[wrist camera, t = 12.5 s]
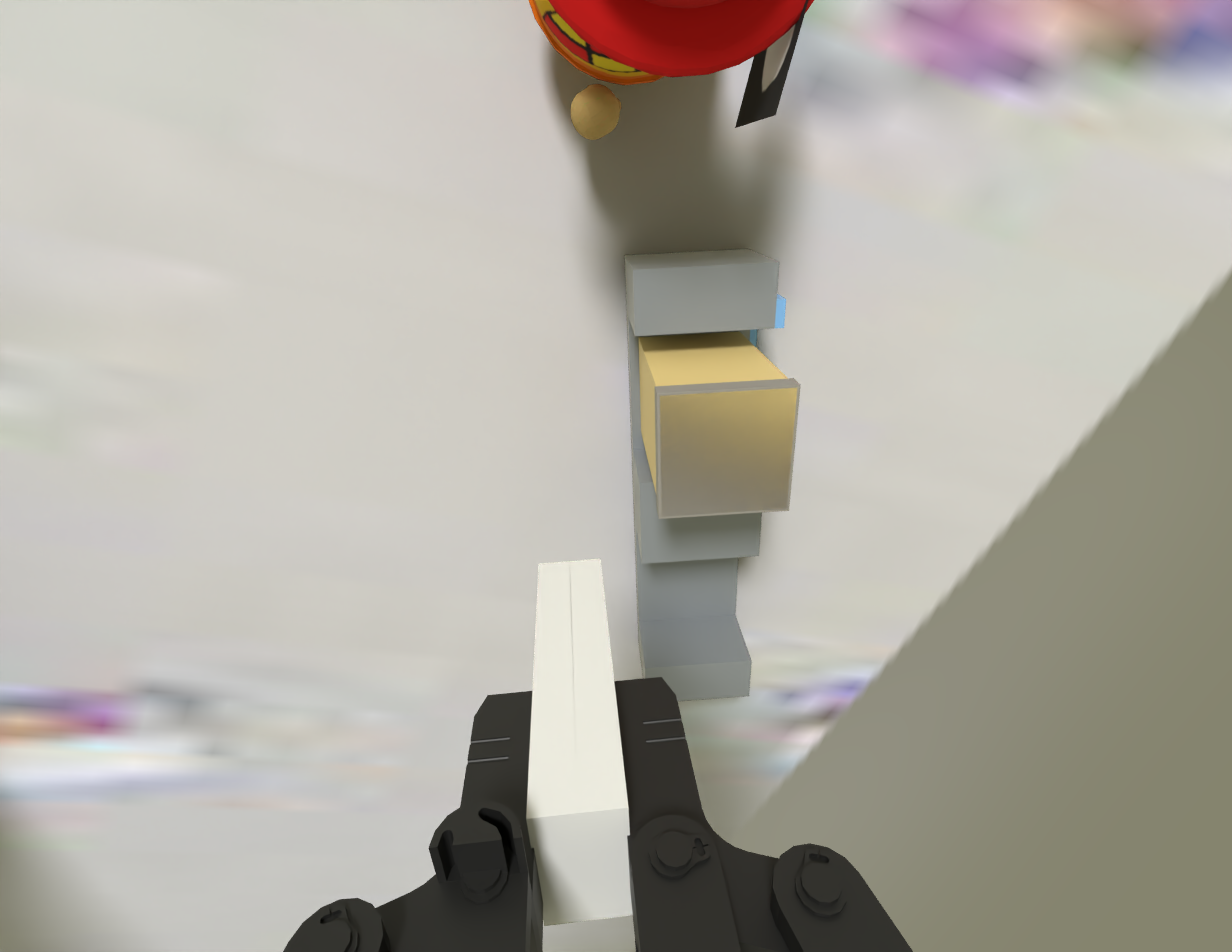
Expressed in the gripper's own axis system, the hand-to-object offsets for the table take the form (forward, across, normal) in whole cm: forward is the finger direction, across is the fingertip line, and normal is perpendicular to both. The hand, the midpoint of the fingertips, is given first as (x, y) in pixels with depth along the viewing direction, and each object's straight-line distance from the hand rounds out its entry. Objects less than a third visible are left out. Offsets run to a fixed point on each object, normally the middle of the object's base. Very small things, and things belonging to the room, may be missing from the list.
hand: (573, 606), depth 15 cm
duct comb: (+19, +6, -6) cm, 21 cm away
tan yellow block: (+17, +6, 0) cm, 19 cm away
